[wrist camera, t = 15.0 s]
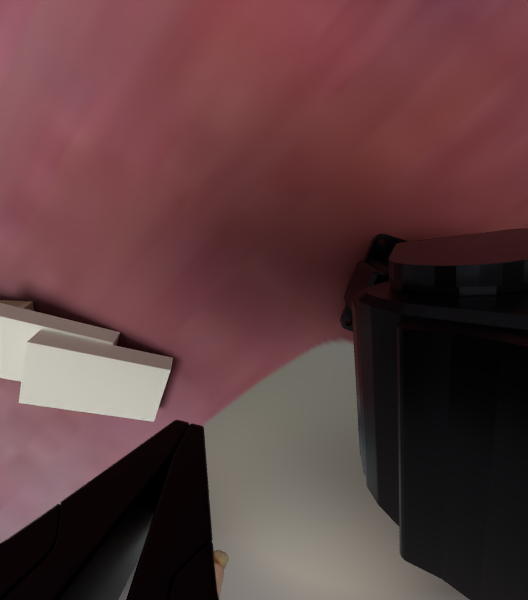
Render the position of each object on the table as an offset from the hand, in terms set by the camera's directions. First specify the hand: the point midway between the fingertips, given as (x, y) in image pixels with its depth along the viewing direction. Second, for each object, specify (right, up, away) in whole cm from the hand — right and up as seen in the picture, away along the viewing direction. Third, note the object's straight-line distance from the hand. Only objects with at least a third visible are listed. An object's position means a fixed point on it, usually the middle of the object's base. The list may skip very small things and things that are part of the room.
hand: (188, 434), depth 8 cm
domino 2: (-6, -3, +14) cm, 15 cm away
